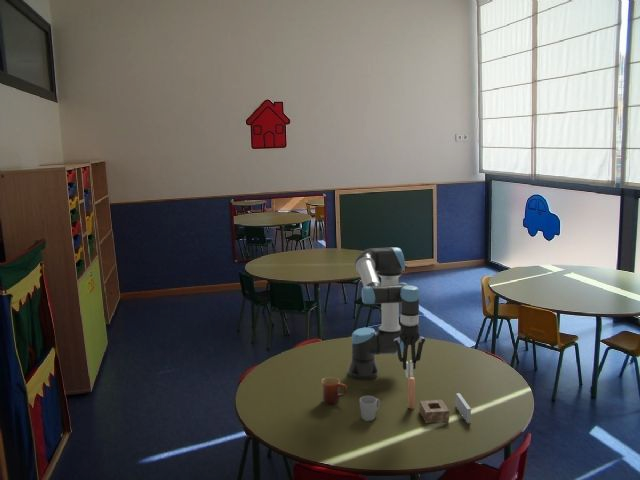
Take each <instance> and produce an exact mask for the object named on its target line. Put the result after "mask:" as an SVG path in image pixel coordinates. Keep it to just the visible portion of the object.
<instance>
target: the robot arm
mask: <svg viewBox="0 0 640 480" xmlns="http://www.w3.org/2000/svg"><path fill="white" fill-rule="evenodd" d="M354 267H355V270H356V273H358V275H359V276H360V279H361V283H362V286H363V287H362V288H361V300H362V303H363V304H365V305H377V304H379V305H381V307H380V308H381V325H380V326H378V331H377V330H375V329H374V328H372V327H366V326H365V327H361V328H357V329H356V330H354V331H352V333H351V341H350V342H351V361H350V365H349V366H348V367H349V368H348V376H349V377H351V378H352V379H355V380H359V381H368V380H373V379H376V378H377V377H379V368H378V365H377V363H376V356H377V355H378V356H379V355H397V358H398V361H399V362H400V363H401V362H402V369H403V370H404V375H405V378H407V379H408V378H409V376H410V377H414V370H416V363H417V362H418V361H421V356H422V352H423V351H422V350H423V345H424V344H425V341H426V339H425V338H424V336H420V333H419V332H420V331H419V327H420V325H419V322H420V321H419V320H420V296H421V295H420V289H419V287H417V286H415V285H409V284H408V283H406V282H399V278H400V277H401V276H402V272H404V271H405V269H406V261H405V256H404V253H403V250H402V249H401V248H400V247H391V246H390V247H372V248H371V247H370V248H367V249H364V250H363V251H361V252H360V253H359V254H358V256H357V257H356V259H355V262H354ZM379 277H380V279H379ZM399 304H400V305H399ZM399 309H400V313H399ZM399 314H400V315H399ZM399 318H400V319H399ZM399 320H400V323H399ZM417 342H418V344H417V349H416V343H417ZM409 346H410V353H411V354H410V355H411V356H410V357H411V360H409V362H408V349H409Z"/></svg>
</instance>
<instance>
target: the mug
mask: <svg viewBox="0 0 640 480" xmlns="http://www.w3.org/2000/svg"><path fill="white" fill-rule="evenodd" d="M320 383H321V385H322V400H323V403H325V404H326V405H328V406H331V405H332V406H334V405H336V404H338V403H339V402H340V398H342V397H344V396H345V395H346V394H347V392H348V386H347V384H345V383H341V380H340V378H338V377H334V376H328V377H324V378H322V379H321V382H320ZM340 387H344V392H343V393H340Z"/></svg>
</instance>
